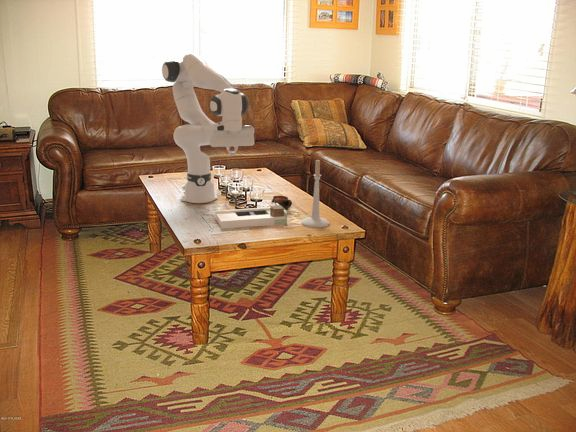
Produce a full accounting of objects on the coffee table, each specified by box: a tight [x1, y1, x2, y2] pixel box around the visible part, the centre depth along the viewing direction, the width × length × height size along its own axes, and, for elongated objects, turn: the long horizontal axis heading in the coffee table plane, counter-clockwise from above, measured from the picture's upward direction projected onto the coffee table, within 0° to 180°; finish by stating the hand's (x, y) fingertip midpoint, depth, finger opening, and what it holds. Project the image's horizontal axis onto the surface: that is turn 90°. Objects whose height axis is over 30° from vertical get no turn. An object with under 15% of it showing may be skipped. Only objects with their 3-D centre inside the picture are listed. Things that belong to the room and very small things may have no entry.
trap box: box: [214, 203, 288, 230], centre depth 284 cm, size 16×30×6 cm, turn 107°
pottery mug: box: [271, 195, 293, 211], centre depth 303 cm, size 12×10×8 cm
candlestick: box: [300, 159, 330, 229], centre depth 280 cm, size 13×13×30 cm
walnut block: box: [270, 205, 285, 217], centre depth 284 cm, size 5×5×4 cm
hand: (232, 155), depth 282 cm, fingers closed
